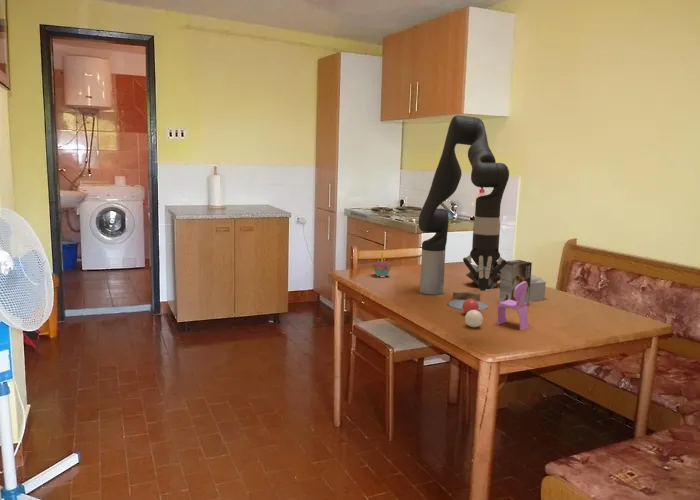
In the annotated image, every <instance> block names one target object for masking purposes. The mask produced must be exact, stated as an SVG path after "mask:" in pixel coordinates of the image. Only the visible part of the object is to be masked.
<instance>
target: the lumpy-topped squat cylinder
mask: <svg viewBox="0 0 700 500" xmlns="http://www.w3.org/2000/svg"><path fill="white" fill-rule="evenodd" d="M546 283H547V282H546V280H545V279H542V278H541V277H540V276H538V275H535V274H531V282H530V297H529V302H536V301H537V302H538V301H544V300H545V298H546V297H545V296H546Z"/></svg>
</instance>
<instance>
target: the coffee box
mask: <svg viewBox="0 0 700 500" xmlns="http://www.w3.org/2000/svg"><path fill="white" fill-rule="evenodd" d="M506 262H507V263H506V265H505V266H504V267H503V268H502V269H501V280H500V281H499V282H500V283H499V297H498V298H499V299H498V301H499V302H498V304H499V303H500V302H503V301H506V300H508V299H509V300H513V301H517V299H516V298H515V297H513V294H514V289H515V287H516V286H517V285H518V284H520V283H521V282H524V281H526V282H527V284H528V287H527V290H526V293H525V298H524V303H527V306H529V305H530V301H529V297H530V282H531V275H532V266H533V265H532V264H533V263H532V262H529V261H526V260H521V259H517V260H506Z"/></svg>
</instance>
